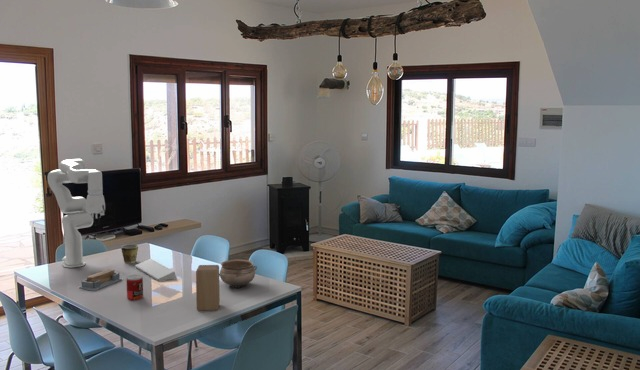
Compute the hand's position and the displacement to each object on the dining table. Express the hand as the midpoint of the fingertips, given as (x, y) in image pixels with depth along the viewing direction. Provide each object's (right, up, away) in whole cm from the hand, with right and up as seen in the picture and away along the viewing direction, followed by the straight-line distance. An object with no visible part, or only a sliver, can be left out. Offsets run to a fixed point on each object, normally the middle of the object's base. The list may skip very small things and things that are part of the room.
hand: (96, 224), depth 315 cm
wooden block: (+72, -37, -46) cm, 93 cm away
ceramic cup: (+7, -25, +33) cm, 42 cm away
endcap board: (+7, -31, -12) cm, 34 cm away
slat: (+7, -30, -12) cm, 33 cm away
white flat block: (+30, -29, +10) cm, 43 cm away
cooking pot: (+81, -32, -11) cm, 88 cm away
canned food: (+33, -35, -34) cm, 58 cm away
